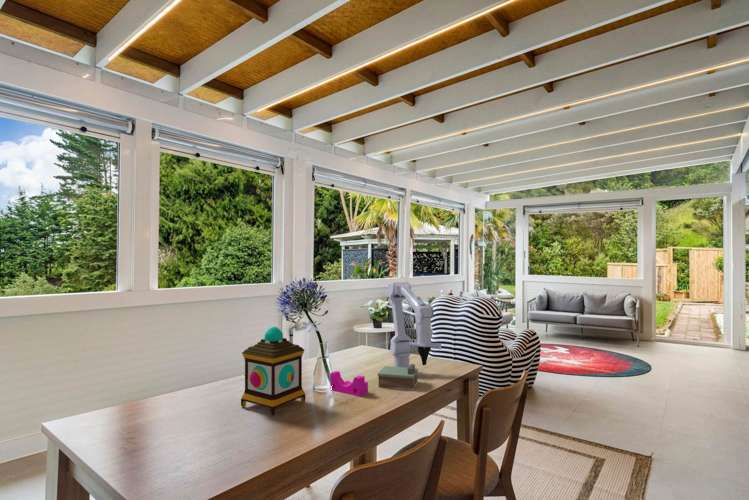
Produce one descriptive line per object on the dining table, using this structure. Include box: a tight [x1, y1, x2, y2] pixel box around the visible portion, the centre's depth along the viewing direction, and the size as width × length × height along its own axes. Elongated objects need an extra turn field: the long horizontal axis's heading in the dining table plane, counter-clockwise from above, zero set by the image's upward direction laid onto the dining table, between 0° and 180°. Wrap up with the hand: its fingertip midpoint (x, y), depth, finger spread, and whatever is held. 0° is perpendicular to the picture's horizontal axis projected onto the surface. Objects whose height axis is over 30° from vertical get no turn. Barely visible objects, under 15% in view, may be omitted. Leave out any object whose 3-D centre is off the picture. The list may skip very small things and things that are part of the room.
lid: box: [377, 363, 419, 379], centre depth 188 cm, size 13×16×3 cm
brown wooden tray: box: [378, 372, 418, 391], centre depth 188 cm, size 12×15×5 cm
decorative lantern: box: [240, 326, 306, 417], centre depth 163 cm, size 20×20×30 cm
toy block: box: [330, 370, 369, 398], centre depth 179 cm, size 15×6×8 cm, turn 56°
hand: (424, 364), depth 185 cm, fingers closed
